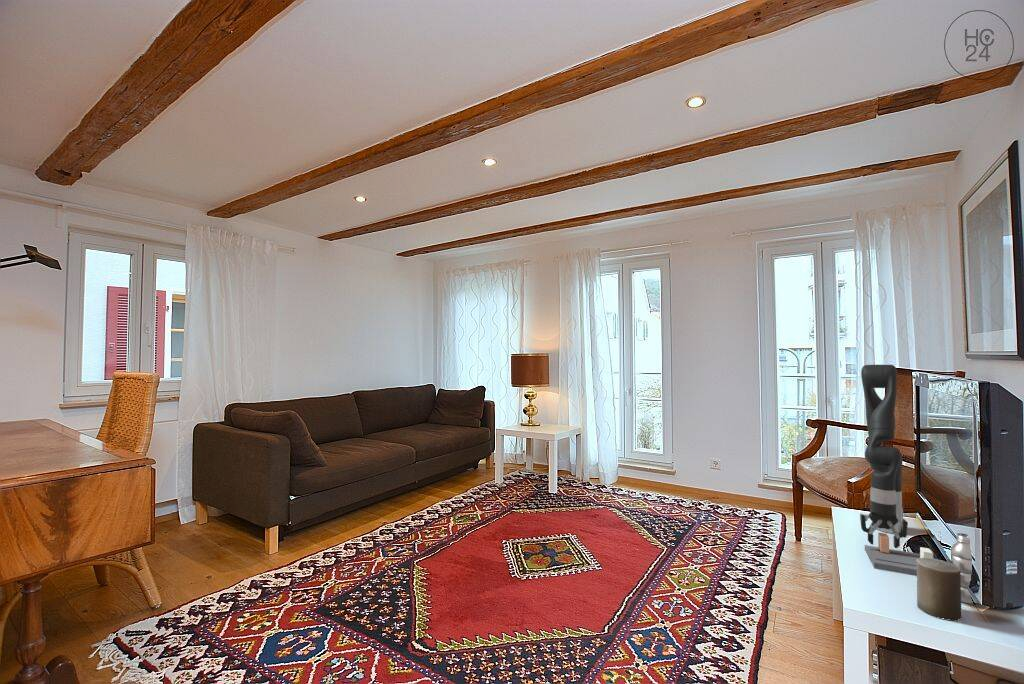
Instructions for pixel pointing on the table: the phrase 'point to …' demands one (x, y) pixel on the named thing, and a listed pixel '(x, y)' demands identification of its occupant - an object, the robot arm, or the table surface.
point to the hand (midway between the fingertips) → (883, 545)
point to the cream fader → (925, 553)
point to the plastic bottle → (963, 564)
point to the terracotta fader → (883, 542)
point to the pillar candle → (939, 588)
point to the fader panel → (893, 560)
